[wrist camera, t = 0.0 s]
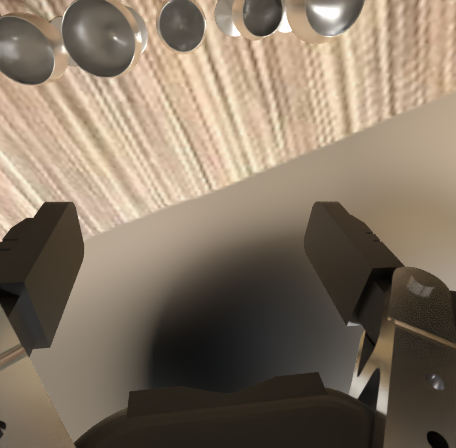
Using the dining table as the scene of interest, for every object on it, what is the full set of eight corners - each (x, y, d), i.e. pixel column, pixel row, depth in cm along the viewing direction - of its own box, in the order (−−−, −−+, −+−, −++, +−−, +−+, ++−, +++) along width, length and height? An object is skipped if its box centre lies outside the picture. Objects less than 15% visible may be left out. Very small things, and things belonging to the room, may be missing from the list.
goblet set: (59, 76, 33) (1, 105, 22) (32, 11, 29) (-52, 7, 18) (311, 33, 34) (376, 40, 23) (312, -34, 31) (389, -63, 20)
